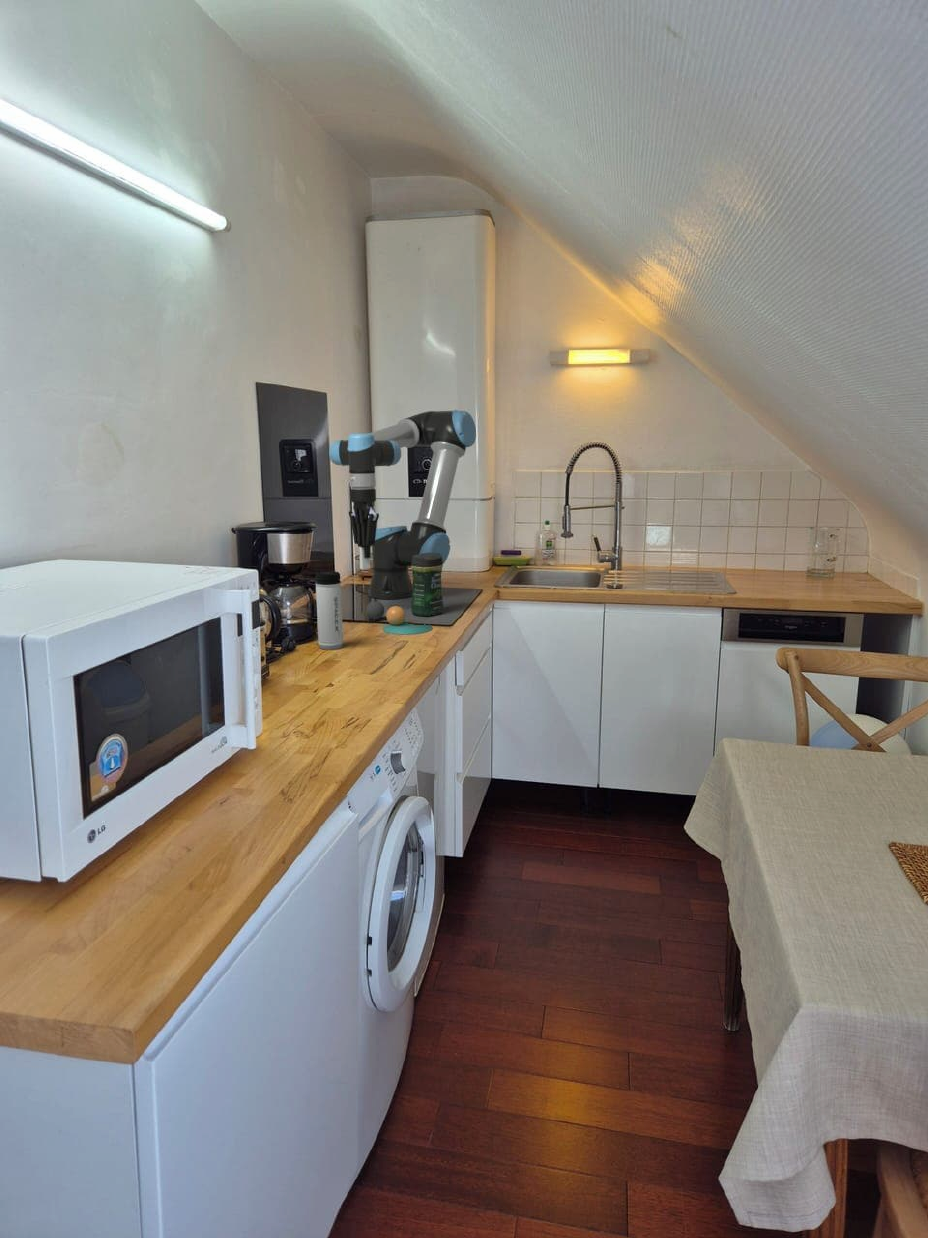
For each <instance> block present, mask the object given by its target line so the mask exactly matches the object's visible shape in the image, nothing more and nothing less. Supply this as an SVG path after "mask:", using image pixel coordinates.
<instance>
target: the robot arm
mask: <svg viewBox="0 0 928 1238" xmlns="http://www.w3.org/2000/svg"><path fill="white" fill-rule="evenodd" d="M475 423H476V422H475V421H474V418H473V416H472V414H470V413H469V412H468V411H465V410H456V409H455V410H436V411H435V410H434V411H433V410H429V411H424V412H421V413H417V414H414V415H411V416H409V417H406V418H403V419H400V420H399V421H398V422H397V424H394V425H391V426H387V427H385V428H381V429H378V430H376V431H375V430H374V431H373V432H369V433H351V434H349V435H348V437H347V440H343V439H340V440H335V441H333V442H332V443H331V444H330V446H329V449H328V454H329V459H330V461H331V462H332V463H333V464H334V465H337V466H342V467H345V466H348V468H349V469H348V473H349V474H348V475H349V476H348V479H349V480H348V481H349V488H351V489H349V500H350V503H353V506H352V510H349V511H348V516H349V518H350V524H351V530H352V535H353V542H354V544H355V545H357V547H358V551H359V552H358V553H359V554H358V555H359V569H360V570H363V571H364V570H370V569H373V570H372V577H371V580H370V583H369V584H370V585H369V587H368V597H370V598H372V599H379V600H399V599H406V598H412V588H413V582H412V580H411V577H410V575H409V567H411V560H412V557H413V556H414V555H418V554H423V553H438V554H440V555H441V556H442V562H443V565H444V564H445V562H446V561H447V560H448V557H449V554H450V551H451V545H450V543H451V541H450V538H449V535H448V534H447V529H446V528H445V527H444V523H445V521H446V520H445V519H446V516H447V510H448V506H449V503H450V497H451V493H452V490H453V489H452V488H453V485H454V482H455V481H454V480H455V477H456V472H457V468H458V463H459V459H460V458H462V457H464V456H465V454H466V449H467V448H470V447H472V446H473V445H474V443H475V442H476V438H477V429H476V424H475ZM413 447H430V448H431V450H432V452H433V454H432V457H431V462H430V465H429V466H430V467H429V471H428V474H427V480H426V484H425V487H424V492H423V496H422V500H421V504H420V509H419V513H418V517H417V519H416V520H414V521H412V523H411V527H410V530H408V526H407V525H397V526H389V527H382V528H381V527H380V528H377V527H378V521H379V518H380V514H379V513H376V512H375V511H374V505H373V504H374V502H376V501H377V492H376V491H377V490H376V489H375V487H376V485H377V483H376V467H391V466H394V465H395V466H396V465H397V464H398V463H399V462H400V460H401V458H402V449H401V448H409V449H410V448H413ZM371 550H372V568H371Z"/></svg>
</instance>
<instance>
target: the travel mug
mask: <svg viewBox="0 0 928 1238" xmlns="http://www.w3.org/2000/svg"><path fill="white" fill-rule="evenodd" d="M313 574H315V592H316V593H315V594H316V598H315V599H316V617H317V618H316V619H317V637H318V638H317V640H318V648H319V649H320V650H324V651H329V650H330V651H332V650H333V651H334V650H339V649H342V648H343V647H344V631H343V630H344V629H343V626H344V625H343V607H342V606H343V604H342V584H341V583H342V582H341V574H340V572H338V571H335V570H328V569H314V570H313Z"/></svg>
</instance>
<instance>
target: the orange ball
mask: <svg viewBox="0 0 928 1238" xmlns="http://www.w3.org/2000/svg"><path fill="white" fill-rule="evenodd" d="M385 616H386V621H387V622H388V623H389V624H392V625H400V624H402V623H403V622H405V620H406V617H407V615H406V611H405V609H404V608H403V607H401V606H398V605H394V606H391V607H389V609H387V612H386V615H385Z"/></svg>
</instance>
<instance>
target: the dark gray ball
mask: <svg viewBox="0 0 928 1238" xmlns="http://www.w3.org/2000/svg"><path fill="white" fill-rule="evenodd" d="M365 614H366V617H368V618H369V619H370V620H373V621H379V620H381V619H382V618H383V616H385V607H384V604H382V603H381V602H379V601H377V600H375V601H373V600H372V601H371V602H369V603H368V604H367V605H366V607H365Z"/></svg>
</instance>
